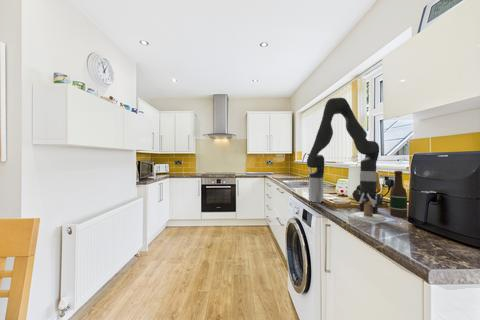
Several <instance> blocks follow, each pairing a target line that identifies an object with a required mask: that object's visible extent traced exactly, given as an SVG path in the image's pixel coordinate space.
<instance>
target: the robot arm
mask: <svg viewBox="0 0 480 320" xmlns="http://www.w3.org/2000/svg"><path fill="white" fill-rule="evenodd" d="M338 114H340V115H342V117H343V118H344V120H345V128H346V132H347V133H348V135H349V136H350V138H351V139H352V140H353V144H354V146H355V148H356V150H357V151H358V153H359V154H361V155H363V156H364V155H365V156H364V159H362V160H361V161H360V172H359V185H360V188H361V190H358V191H355V190H354V191H355V195H356V200H355V202H357V203H358V204H359V207H360V210H359V212H364V204H363V203H364V202H365V200H366V199H367V200H370V201H369V202H370V203H371V204H372V205H373V214H379V213H378V211H379V209H378V208H379V207H381V206H383V198H384V194H383V193H378V191H377V189H378V174H377V161H378V159H379V154H380V145H379V143H378V142H377V141H374V140H368V139H367V136H368V134H367V132H366V130H365V129H364V128H363V126H362V125H361V124H360V122H359V121H358V119H357V118H356V116H355V113H354V111H353V110H352V108H351V106H350V104H349V102H348V101H347V99H346V98H345V97H332V98H328V100H327V101H326V103H325V105H324V109H323V114H322V117H321V118H322V119H321V122H320V124H319V127H318V130H317V132H316V133H317V134H316V136H315V138H314V139H315V140H314V142H313V144H312V145H313V146H312V147H311V149H310V151H309V154H308V155H307V160H306V165H307V167H308V168H310V169H315V168H316V169H315V170H314V171H313V172H310V173H309V187H308V201H309V200H310V201H312V202H311V203H313V202H316V203H315V204H320V203H321V202H322V201H323V202H324V175H325V174H324V173H325V157H324V155H322V154H319V153H320V152H321V151H323V149H325V148H326V147H327V146H329V144H330V142H331V140H332V139H333V135H334V130H333V126H332V121H333V118H334V116H335V115H338ZM361 195H362V196H361ZM310 201H309V202H310ZM321 204H322V203H321Z"/></svg>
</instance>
